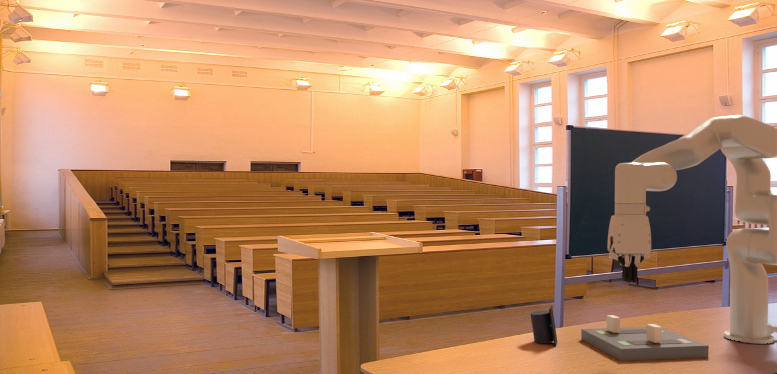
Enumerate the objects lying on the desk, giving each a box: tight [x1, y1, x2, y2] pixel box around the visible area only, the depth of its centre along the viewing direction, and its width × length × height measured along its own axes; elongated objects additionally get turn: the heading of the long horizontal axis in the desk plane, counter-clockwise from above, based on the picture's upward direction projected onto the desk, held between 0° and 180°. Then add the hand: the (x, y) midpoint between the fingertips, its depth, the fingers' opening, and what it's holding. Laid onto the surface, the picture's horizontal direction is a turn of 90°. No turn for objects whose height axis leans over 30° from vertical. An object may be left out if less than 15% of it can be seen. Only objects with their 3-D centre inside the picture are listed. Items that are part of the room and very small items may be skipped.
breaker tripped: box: [646, 323, 663, 343], centre depth 167 cm, size 2×4×4 cm, turn 9°
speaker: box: [529, 304, 558, 347], centre depth 178 cm, size 8×6×10 cm
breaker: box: [606, 314, 621, 332], centre depth 178 cm, size 2×4×4 cm, turn 9°
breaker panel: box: [580, 326, 709, 362], centre depth 173 cm, size 24×22×3 cm
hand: (629, 281), depth 166 cm, fingers closed
